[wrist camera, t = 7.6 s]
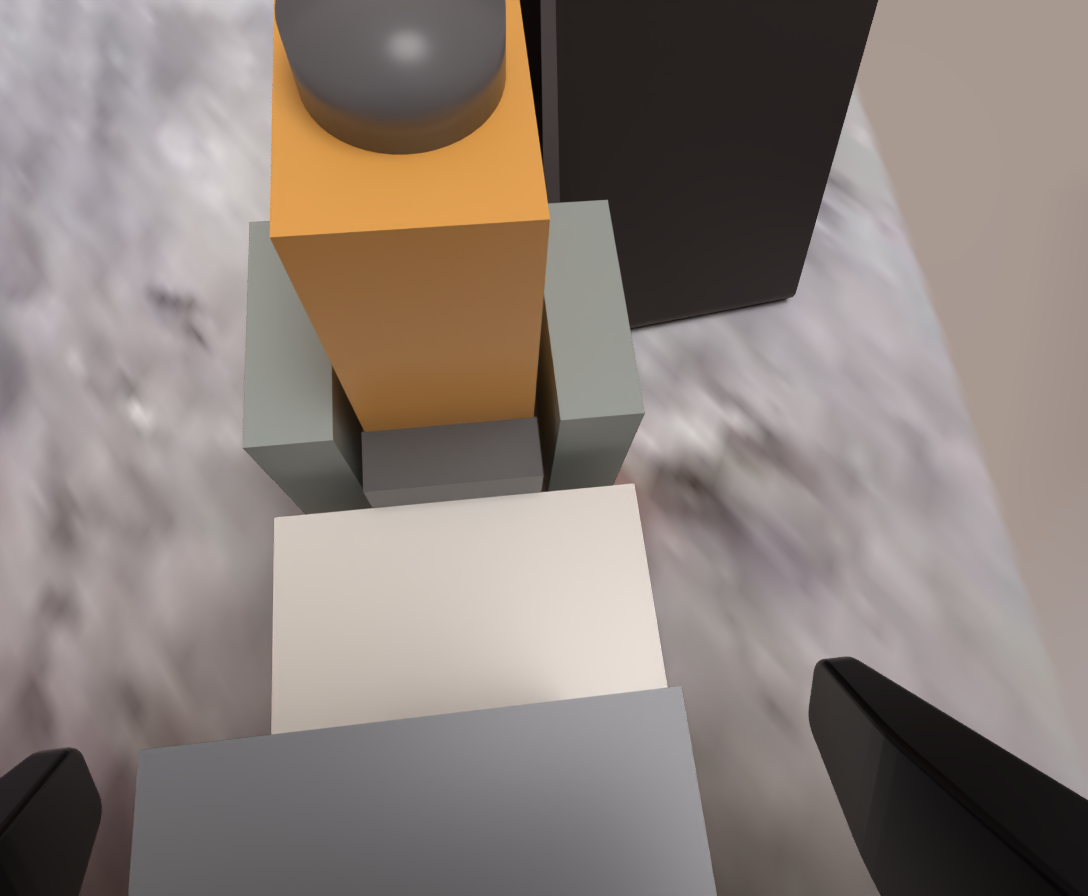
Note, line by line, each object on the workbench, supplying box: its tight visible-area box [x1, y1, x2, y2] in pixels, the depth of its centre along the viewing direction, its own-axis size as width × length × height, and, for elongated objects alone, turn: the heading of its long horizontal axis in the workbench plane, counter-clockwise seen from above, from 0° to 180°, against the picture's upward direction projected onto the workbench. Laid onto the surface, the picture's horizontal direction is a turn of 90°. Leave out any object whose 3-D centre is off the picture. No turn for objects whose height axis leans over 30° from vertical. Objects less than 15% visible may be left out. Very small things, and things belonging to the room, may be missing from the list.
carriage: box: [128, 417, 717, 896], centre depth 8 cm, size 9×6×9 cm, turn 6°
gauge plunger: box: [270, 0, 550, 432], centre depth 11 cm, size 4×3×9 cm
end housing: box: [243, 200, 645, 515], centre depth 14 cm, size 4×6×4 cm, turn 96°
